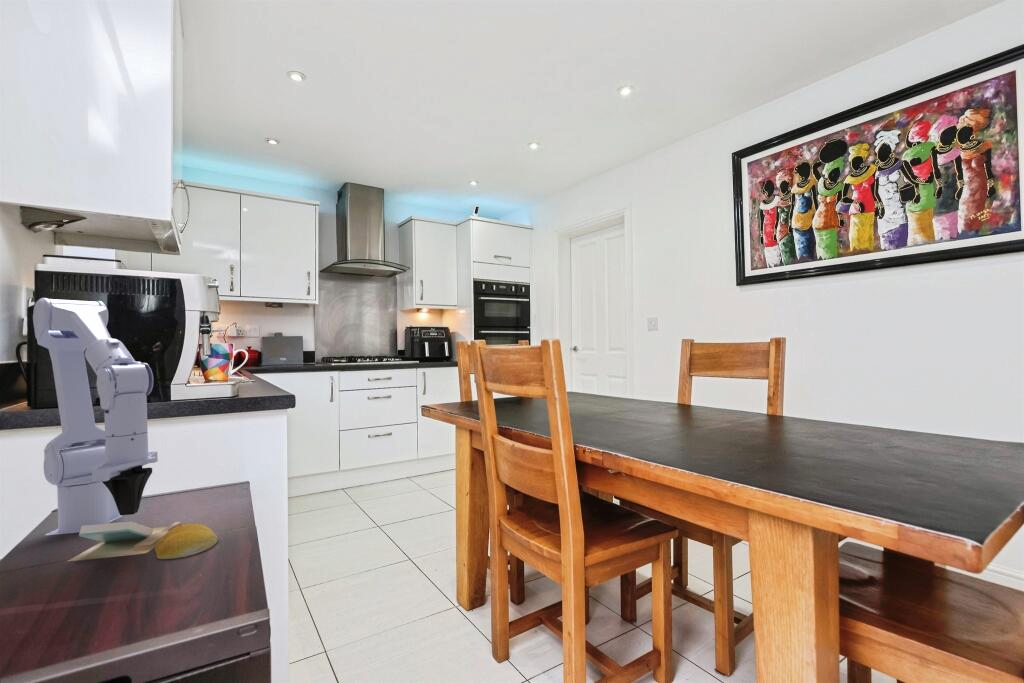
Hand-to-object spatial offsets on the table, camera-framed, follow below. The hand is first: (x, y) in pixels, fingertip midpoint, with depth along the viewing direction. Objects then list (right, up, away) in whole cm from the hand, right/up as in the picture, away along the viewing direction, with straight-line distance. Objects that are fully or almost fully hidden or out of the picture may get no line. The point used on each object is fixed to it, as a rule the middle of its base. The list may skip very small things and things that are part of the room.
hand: (128, 513), depth 82 cm
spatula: (+5, -4, 0) cm, 7 cm away
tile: (0, -4, 0) cm, 4 cm away
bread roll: (+13, -5, -4) cm, 14 cm away
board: (+1, -5, -1) cm, 5 cm away
